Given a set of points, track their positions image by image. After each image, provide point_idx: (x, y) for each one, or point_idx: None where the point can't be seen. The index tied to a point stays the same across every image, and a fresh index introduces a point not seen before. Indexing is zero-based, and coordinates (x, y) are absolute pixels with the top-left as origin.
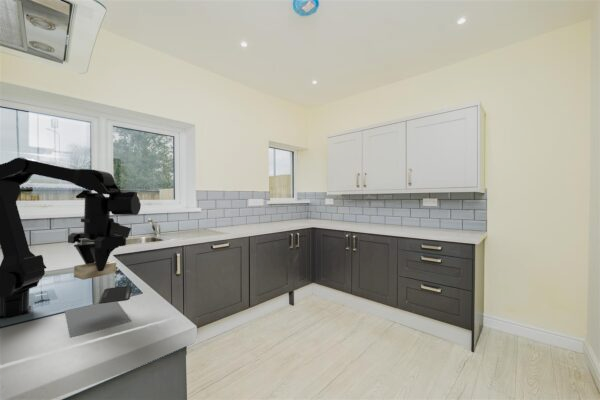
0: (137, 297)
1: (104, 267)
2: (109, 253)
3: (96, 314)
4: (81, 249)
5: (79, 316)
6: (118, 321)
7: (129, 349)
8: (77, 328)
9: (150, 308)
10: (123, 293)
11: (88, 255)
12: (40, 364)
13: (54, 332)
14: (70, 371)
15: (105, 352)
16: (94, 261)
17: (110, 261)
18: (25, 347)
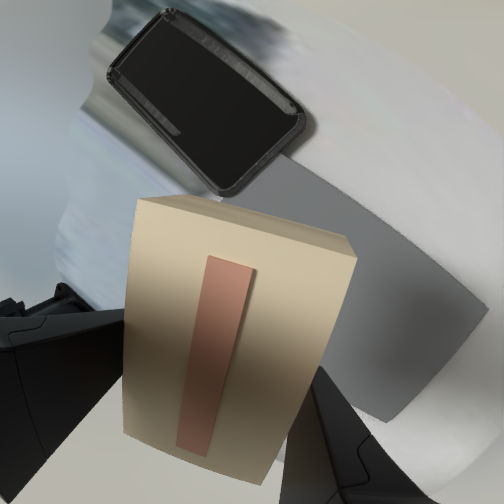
0: (308, 72)
1: (330, 378)
2: (413, 498)
3: None
4: (26, 470)
5: None
6: (450, 321)
7: None
8: (361, 389)
9: (467, 174)
10: (216, 71)
11: (67, 400)
12: (404, 472)
13: None
14: (466, 463)
15: (493, 419)
16: (115, 323)
17: (224, 227)
18: None
